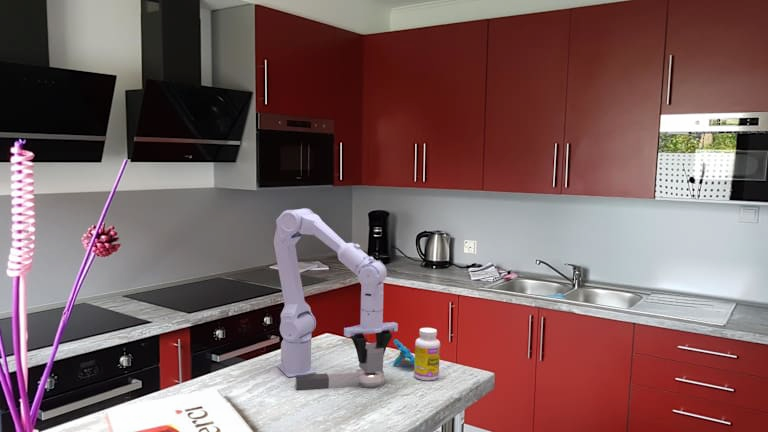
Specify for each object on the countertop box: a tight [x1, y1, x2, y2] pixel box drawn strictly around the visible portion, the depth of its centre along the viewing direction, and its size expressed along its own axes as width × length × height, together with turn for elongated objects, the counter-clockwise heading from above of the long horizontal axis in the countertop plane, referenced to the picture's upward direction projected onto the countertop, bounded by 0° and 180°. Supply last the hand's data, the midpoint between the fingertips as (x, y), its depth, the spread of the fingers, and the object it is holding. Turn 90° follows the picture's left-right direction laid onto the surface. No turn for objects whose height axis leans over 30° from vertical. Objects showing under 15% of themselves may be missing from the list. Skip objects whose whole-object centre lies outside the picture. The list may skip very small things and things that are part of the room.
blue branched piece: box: [392, 338, 415, 367], centre depth 165 cm, size 11×6×10 cm
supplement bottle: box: [413, 327, 441, 381], centre depth 156 cm, size 7×7×13 cm
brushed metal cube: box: [358, 342, 385, 373], centre depth 150 cm, size 5×5×6 cm
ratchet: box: [295, 368, 385, 391], centre depth 148 cm, size 10×22×6 cm, turn 118°
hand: (370, 360), depth 150 cm, fingers closed on brushed metal cube, 5 cm apart
